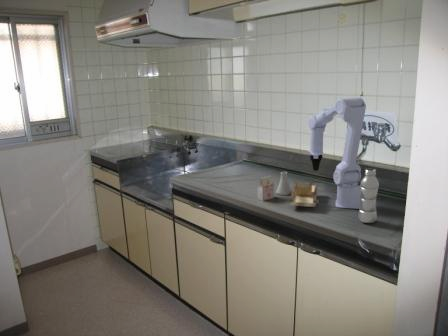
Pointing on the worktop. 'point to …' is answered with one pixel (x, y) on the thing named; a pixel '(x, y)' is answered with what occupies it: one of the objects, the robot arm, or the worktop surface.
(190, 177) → the worktop surface
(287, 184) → the flask
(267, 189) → the pink and white carton
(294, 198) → the small cardboard box
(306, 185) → the bronze weight
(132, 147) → the worktop surface
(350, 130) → the robot arm
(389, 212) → the worktop surface
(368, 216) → the plastic bottle
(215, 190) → the worktop surface
